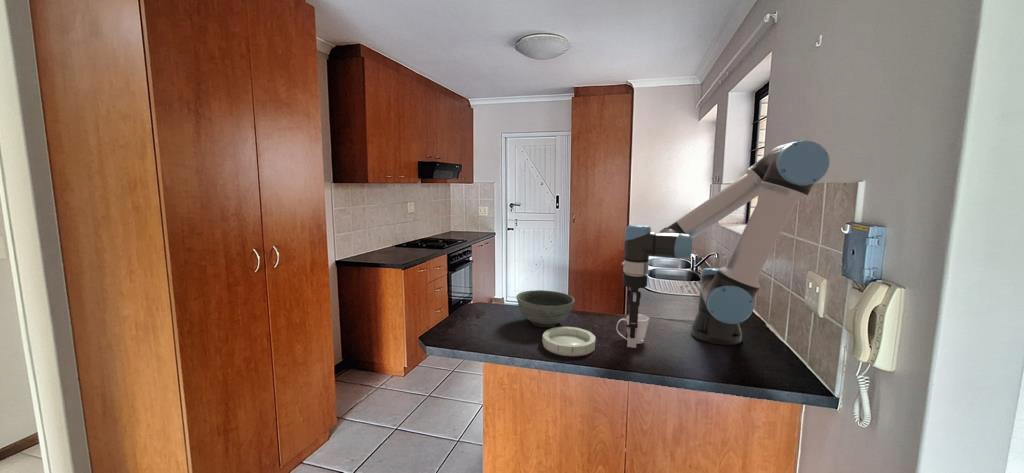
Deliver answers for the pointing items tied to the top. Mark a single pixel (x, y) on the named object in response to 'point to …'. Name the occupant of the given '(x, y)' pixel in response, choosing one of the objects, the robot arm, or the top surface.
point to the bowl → (545, 306)
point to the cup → (641, 328)
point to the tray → (569, 341)
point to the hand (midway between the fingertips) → (631, 339)
